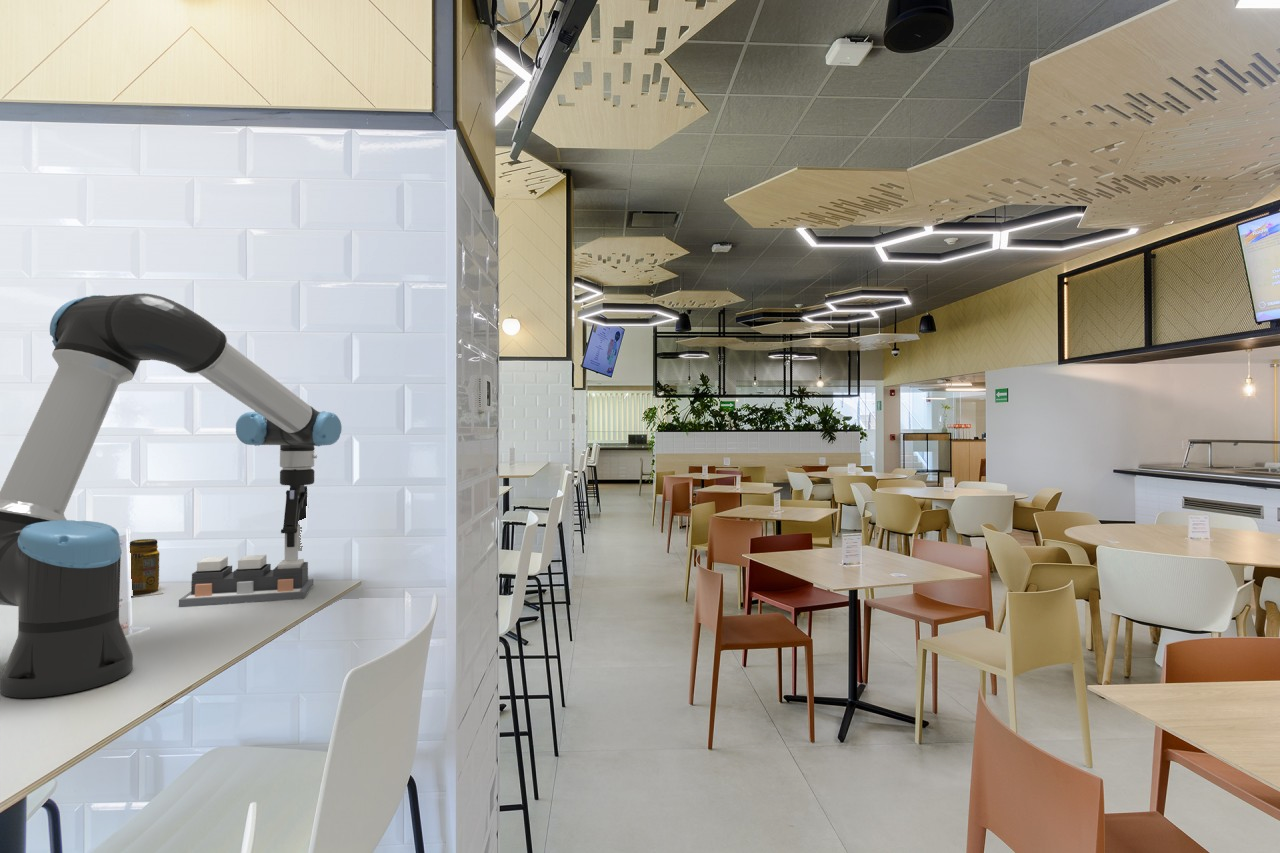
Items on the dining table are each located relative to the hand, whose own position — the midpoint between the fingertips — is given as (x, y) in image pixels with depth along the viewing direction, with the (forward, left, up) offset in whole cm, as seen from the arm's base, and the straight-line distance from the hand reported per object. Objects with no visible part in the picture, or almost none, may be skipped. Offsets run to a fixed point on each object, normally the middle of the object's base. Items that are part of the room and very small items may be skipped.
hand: (296, 555), depth 163 cm
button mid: (-10, -4, -1) cm, 11 cm away
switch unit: (-10, -5, -7) cm, 14 cm away
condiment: (-30, +12, -7) cm, 33 cm away
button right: (-2, -7, -2) cm, 7 cm away
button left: (-17, -1, -1) cm, 17 cm away
